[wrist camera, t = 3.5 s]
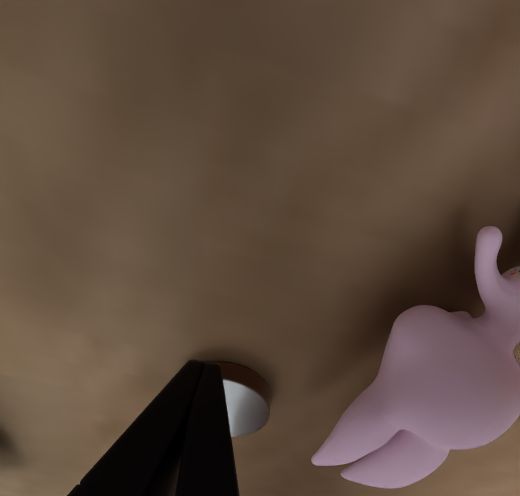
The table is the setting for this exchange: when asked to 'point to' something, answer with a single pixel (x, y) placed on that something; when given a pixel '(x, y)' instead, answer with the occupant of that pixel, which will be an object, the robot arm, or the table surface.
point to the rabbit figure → (436, 384)
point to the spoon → (245, 399)
